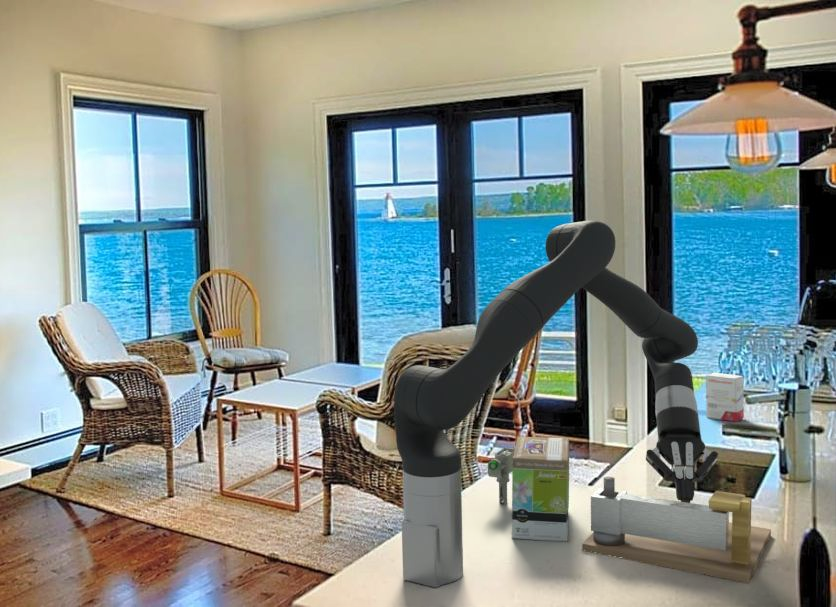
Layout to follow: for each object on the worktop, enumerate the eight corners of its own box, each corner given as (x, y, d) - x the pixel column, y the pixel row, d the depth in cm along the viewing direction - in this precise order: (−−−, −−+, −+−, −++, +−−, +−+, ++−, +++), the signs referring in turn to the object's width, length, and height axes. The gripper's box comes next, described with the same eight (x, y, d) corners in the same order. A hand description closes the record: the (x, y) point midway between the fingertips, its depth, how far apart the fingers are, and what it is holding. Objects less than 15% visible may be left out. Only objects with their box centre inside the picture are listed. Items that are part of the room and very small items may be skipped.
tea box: (569, 542, 145) (568, 459, 143) (510, 540, 147) (509, 457, 145) (569, 511, 160) (569, 435, 158) (516, 509, 161) (515, 434, 160)
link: (590, 530, 141) (590, 496, 141) (599, 521, 145) (599, 487, 145) (724, 553, 131) (725, 516, 130) (729, 542, 135) (730, 506, 134)
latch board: (748, 583, 128) (750, 507, 126) (582, 550, 141) (581, 481, 140) (770, 535, 145) (772, 468, 144) (620, 510, 159) (621, 449, 158)
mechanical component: (486, 510, 161) (485, 460, 160) (505, 494, 170) (505, 446, 169) (500, 513, 160) (499, 461, 158) (519, 496, 169) (519, 447, 167)
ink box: (744, 419, 224) (745, 375, 223) (736, 422, 221) (736, 378, 219) (713, 414, 230) (714, 371, 229) (704, 417, 227) (705, 374, 226)
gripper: (641, 404, 154) (648, 490, 144) (717, 405, 152) (729, 493, 142) (638, 425, 160) (645, 509, 149) (711, 426, 158) (722, 512, 147)
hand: (686, 501), depth 146 cm, fingers closed
